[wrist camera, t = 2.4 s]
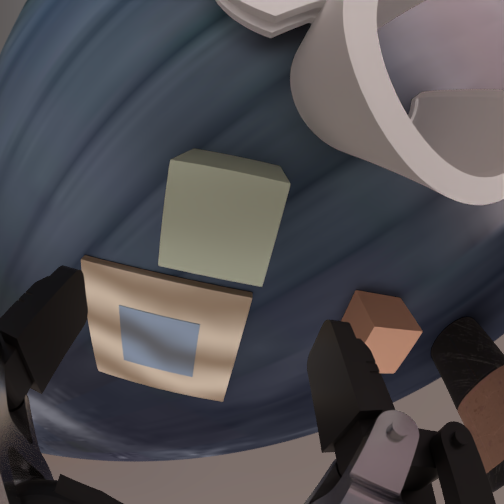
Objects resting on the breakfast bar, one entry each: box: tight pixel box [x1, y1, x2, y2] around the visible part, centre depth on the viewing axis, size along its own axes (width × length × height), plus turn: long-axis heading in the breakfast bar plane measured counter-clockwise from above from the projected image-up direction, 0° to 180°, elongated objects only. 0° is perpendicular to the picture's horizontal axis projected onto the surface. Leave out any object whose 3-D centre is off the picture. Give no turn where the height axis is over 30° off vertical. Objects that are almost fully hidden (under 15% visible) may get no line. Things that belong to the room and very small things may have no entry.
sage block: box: [158, 149, 291, 287], centre depth 17 cm, size 6×6×6 cm
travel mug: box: [431, 317, 504, 492], centre depth 18 cm, size 8×8×20 cm
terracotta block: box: [341, 290, 423, 373], centre depth 22 cm, size 5×5×5 cm
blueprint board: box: [81, 255, 252, 402], centre depth 25 cm, size 15×15×1 cm
